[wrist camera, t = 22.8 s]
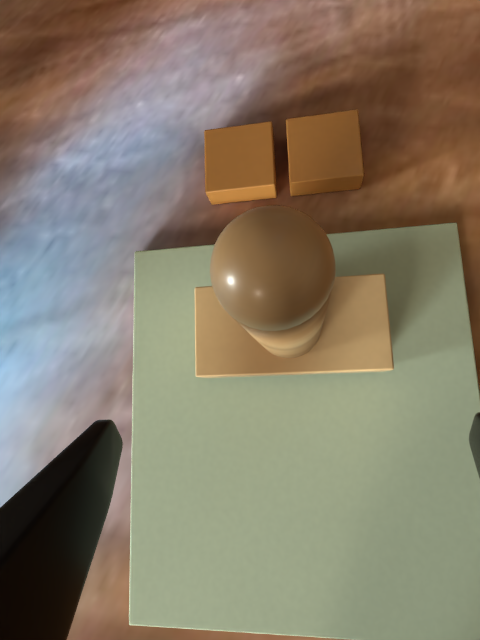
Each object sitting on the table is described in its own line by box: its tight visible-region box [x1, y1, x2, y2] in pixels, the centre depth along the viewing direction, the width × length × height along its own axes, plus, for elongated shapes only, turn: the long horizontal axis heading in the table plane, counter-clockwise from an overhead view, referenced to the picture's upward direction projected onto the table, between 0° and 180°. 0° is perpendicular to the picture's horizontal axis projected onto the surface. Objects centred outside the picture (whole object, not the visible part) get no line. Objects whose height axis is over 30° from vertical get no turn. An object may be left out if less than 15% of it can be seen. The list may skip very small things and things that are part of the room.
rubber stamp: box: [194, 205, 394, 378], centre depth 15 cm, size 9×4×14 cm, turn 92°
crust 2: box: [286, 109, 364, 196], centre depth 23 cm, size 4×4×2 cm
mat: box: [129, 223, 480, 640], centre depth 21 cm, size 20×18×1 cm
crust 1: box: [204, 121, 277, 204], centre depth 23 cm, size 4×4×2 cm
